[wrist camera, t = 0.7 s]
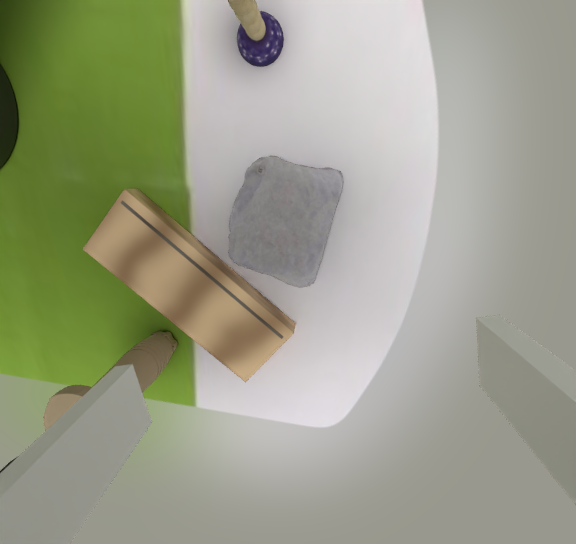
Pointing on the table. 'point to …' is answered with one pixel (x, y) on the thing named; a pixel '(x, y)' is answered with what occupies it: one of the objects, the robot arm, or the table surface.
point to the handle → (144, 357)
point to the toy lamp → (257, 33)
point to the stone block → (284, 219)
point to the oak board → (188, 284)
